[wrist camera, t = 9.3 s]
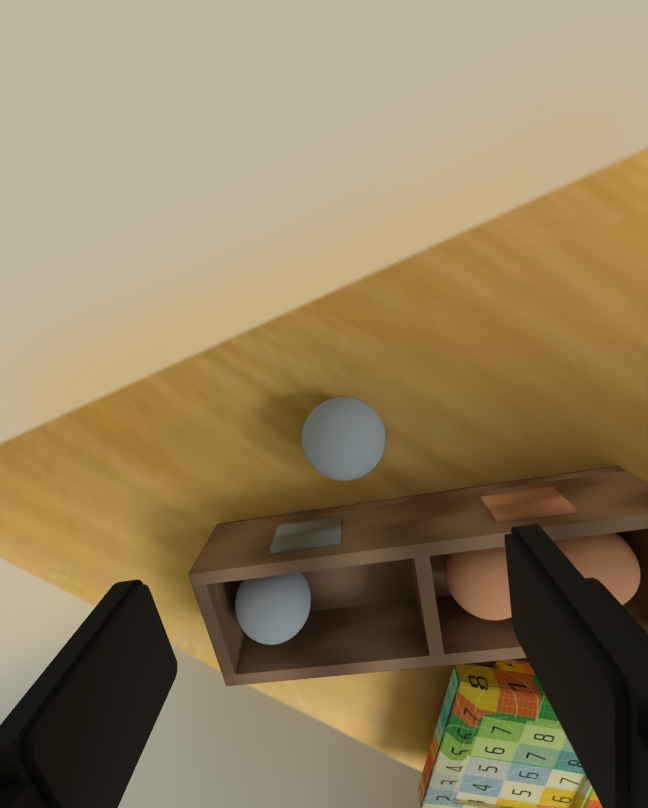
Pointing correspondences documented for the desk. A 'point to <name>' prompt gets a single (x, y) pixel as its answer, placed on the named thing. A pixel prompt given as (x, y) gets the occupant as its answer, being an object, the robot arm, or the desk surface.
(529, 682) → the puzzle game
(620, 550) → the tan rounded piece
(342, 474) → the slate ball
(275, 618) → the blue-grey ball
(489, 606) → the terracotta ball
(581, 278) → the desk surface
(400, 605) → the divided wooden box
